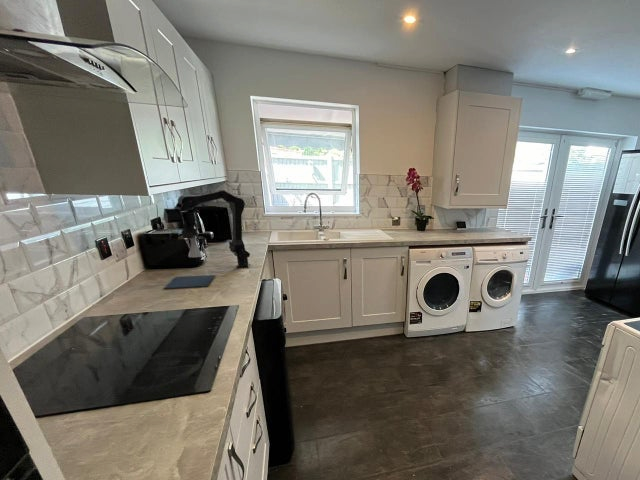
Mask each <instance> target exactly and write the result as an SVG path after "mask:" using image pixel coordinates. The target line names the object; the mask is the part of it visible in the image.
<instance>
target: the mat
mask: <svg viewBox="0 0 640 480" xmlns="http://www.w3.org/2000/svg"><path fill="white" fill-rule="evenodd" d="M215 277H216V275H215V274H212V275H211V274H210V275H187V276H176V277H174V278H173V279H172V280H171V281H170V282H169V283H168V284H167V285H166V286H165V287H164V290H174V289H175V290H177V289H193V288H194V289H195V288H208V287H209V286H210V285H211V283H212V281H214V278H215Z"/></svg>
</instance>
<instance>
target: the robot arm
mask: <svg viewBox="0 0 640 480" xmlns="http://www.w3.org/2000/svg"><path fill="white" fill-rule="evenodd" d="M221 199H222V200H224V201H225V202H226V203H228V205H229V209H230V210H231V215H232V240H231V241H228V246H229V247H228V249H229V251H230V252H231V253H232V254H233V255H234V256H235V257H236V261H237V266H236V268H237V269H238V268H239V269H243V268H244V269H245V268H250V265H251V264H250V263H249V258H250V256H251V253H250V252H249V251H248V250H246V246H245V243H244V241H243V221H242V215H243V212H244V210H245V203H246V202H245V200H244V199H243V198H241V197H236V196H235V195H233V194H231V193H230V192H228V191H226V190H223V189H218V190H216V191H210V192H207V193H202V194H195V195H193V194H192V195H180V196H178V198H177V203H176V205H175V206H174V208H163V215H162V216H163V219H164V222H165V223H166V224H172V223H173V224H174V223H181V222H183V224H182V230H181V231H173V232H171V233H169V238H170V240H178V241H181V242H182V243H183V245H184V246H185V248H186V249H187V251H188V253H189V252H190V245H191V244H190V239H189V238H191V239H192V238H194V237H196V238H198V240H197V241H198V246H199V248H200V251H202V252H203V248H204V247H203V246H204V243H205V241H206V240H209V239H210V240H212V239H213V238H214V232H213V231H204V232H202V233H201V232H200V231H199V230H198V222H197V217H196V213H200V210H199V209H197V208H196V207H197V206H199V205H201V204H204V203H207V202H212V201H217V200H221Z"/></svg>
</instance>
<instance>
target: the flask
mask: <svg viewBox="0 0 640 480" xmlns="http://www.w3.org/2000/svg"><path fill="white" fill-rule="evenodd" d="M188 240H189V242H190V244H189V245H190V252H189V251H188V258H202V257H204V256H205V255H204V253H203V250H202V251H200V247H199V243H198V242H197V237H194V238H192V239H191V238H188Z"/></svg>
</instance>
